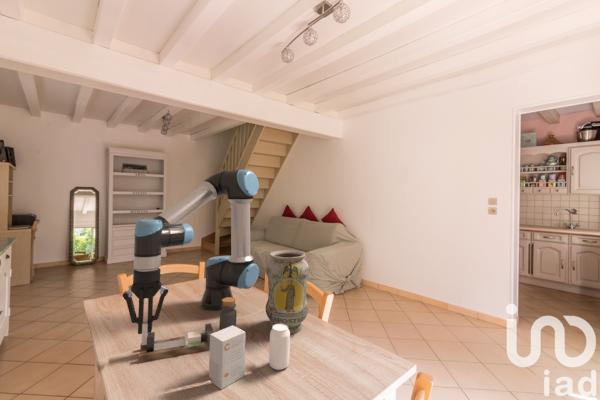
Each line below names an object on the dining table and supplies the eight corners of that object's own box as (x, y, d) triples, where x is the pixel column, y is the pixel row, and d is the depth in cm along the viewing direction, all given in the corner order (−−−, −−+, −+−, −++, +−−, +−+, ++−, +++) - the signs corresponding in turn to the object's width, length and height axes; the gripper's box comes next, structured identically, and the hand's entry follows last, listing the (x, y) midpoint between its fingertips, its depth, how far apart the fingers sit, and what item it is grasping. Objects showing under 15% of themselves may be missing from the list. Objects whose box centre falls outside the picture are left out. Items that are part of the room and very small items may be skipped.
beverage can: (271, 359, 90) (272, 322, 90) (290, 360, 89) (291, 323, 89) (267, 370, 83) (268, 330, 83) (287, 372, 83) (288, 332, 83)
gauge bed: (210, 339, 101) (210, 323, 101) (213, 352, 92) (214, 334, 92) (140, 351, 91) (141, 333, 91) (137, 367, 83) (138, 347, 83)
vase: (264, 338, 103) (266, 257, 103) (263, 318, 120) (265, 249, 121) (311, 336, 106) (314, 257, 106) (303, 316, 123) (306, 249, 123)
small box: (231, 367, 85) (233, 324, 85) (244, 376, 80) (246, 331, 81) (207, 379, 78) (209, 333, 78) (220, 390, 74) (222, 341, 74)
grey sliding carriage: (187, 343, 95) (187, 326, 95) (188, 353, 89) (188, 335, 89) (147, 349, 90) (148, 332, 90) (145, 361, 84) (146, 342, 84)
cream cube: (199, 342, 97) (199, 330, 97) (200, 348, 93) (201, 336, 93) (187, 344, 95) (187, 332, 95) (187, 350, 91) (188, 338, 91)
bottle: (238, 338, 102) (240, 298, 102) (229, 346, 96) (231, 303, 97) (225, 335, 104) (226, 295, 104) (215, 343, 98) (216, 300, 98)
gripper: (170, 264, 94) (167, 334, 94) (125, 267, 89) (122, 341, 89) (169, 269, 87) (167, 344, 87) (121, 273, 82) (118, 353, 82)
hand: (144, 342), depth 88 cm, fingers closed
